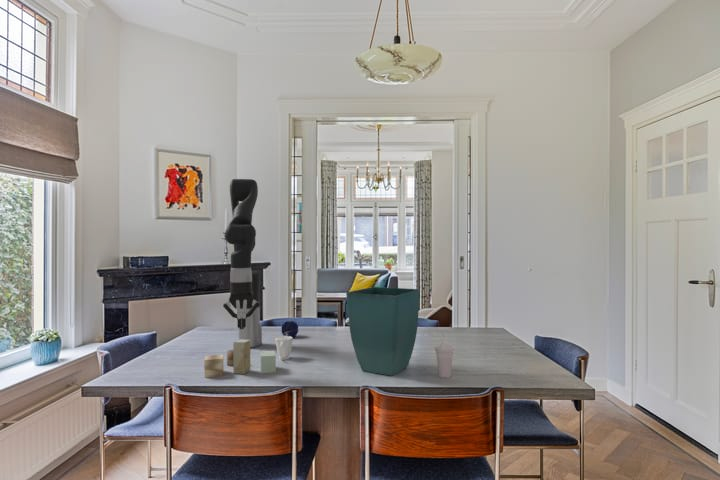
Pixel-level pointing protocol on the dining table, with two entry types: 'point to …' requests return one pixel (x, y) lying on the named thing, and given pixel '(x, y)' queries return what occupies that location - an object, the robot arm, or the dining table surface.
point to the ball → (290, 329)
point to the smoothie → (444, 359)
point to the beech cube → (213, 365)
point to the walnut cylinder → (230, 358)
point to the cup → (284, 346)
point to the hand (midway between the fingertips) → (241, 328)
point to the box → (241, 356)
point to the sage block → (267, 362)
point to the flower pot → (383, 327)
